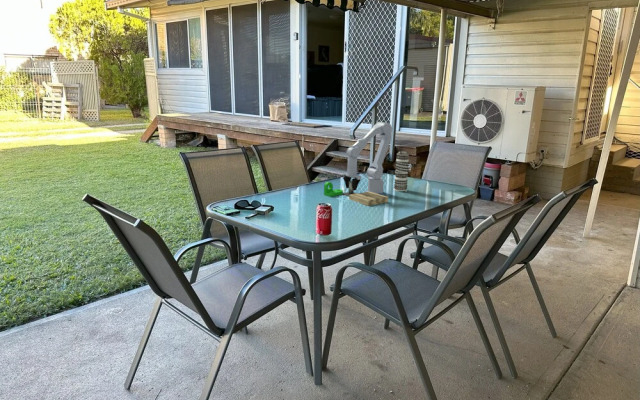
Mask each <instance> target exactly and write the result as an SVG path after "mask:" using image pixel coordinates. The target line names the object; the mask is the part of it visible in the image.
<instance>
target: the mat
mask: <svg viewBox="0 0 640 400" xmlns="http://www.w3.org/2000/svg"><path fill="white" fill-rule="evenodd" d="M354 194H357V192H355V191H354ZM342 195H343V196H346V197H348V198H349V191H348V192H343V194H342Z"/></svg>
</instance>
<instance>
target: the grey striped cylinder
mask: <svg viewBox="0 0 640 400" xmlns="http://www.w3.org/2000/svg"><path fill="white" fill-rule="evenodd" d="M409 158H410V154H409V153H408V152H407V151H403V150H402V151H398V152H397V153H396V160H395V161H394V162H395V165H394V166H395V167H394V169H395V170H394V173H395V176H394V185H393V190H394V191H395V190H396V191H395V192H399V191H405V192H407V191H406V190H408V181H409V180H408V179H409V177H408V174H409V170H410V168H409V166H410V159H409Z"/></svg>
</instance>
